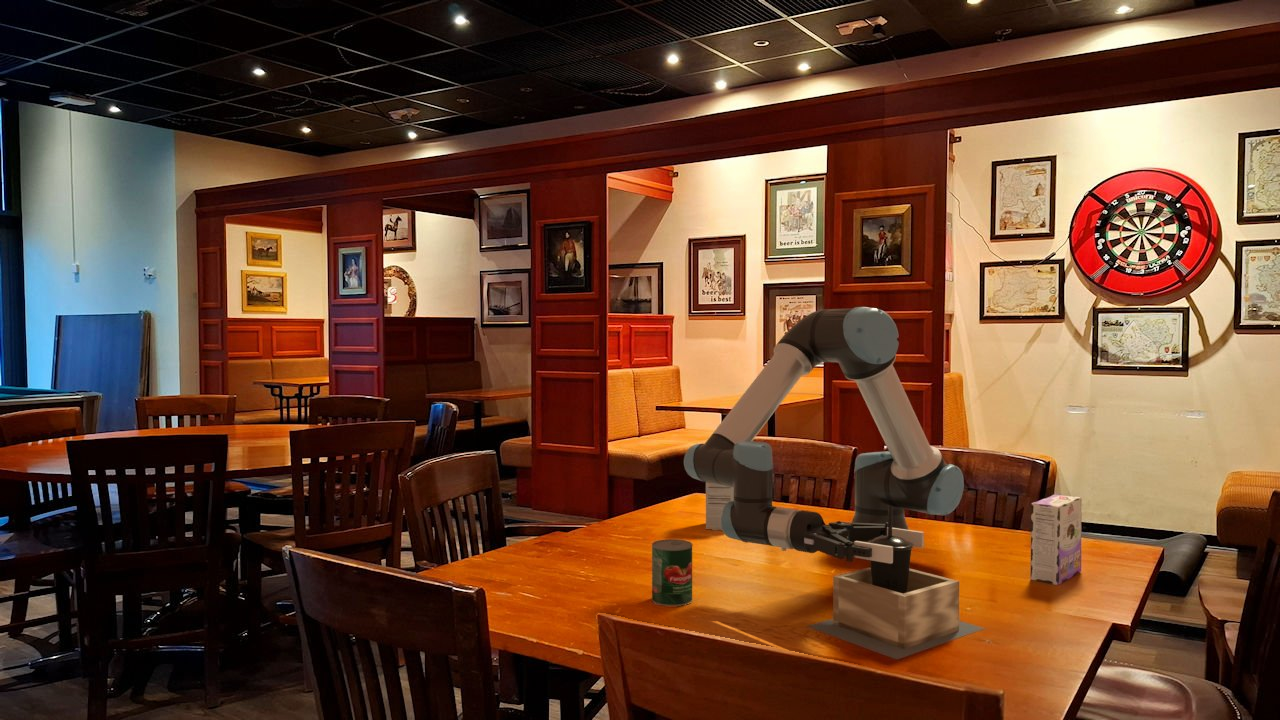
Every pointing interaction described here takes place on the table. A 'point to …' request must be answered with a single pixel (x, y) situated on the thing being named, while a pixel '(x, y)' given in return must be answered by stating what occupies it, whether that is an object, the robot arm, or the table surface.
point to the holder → (896, 607)
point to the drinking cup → (898, 571)
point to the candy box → (1055, 539)
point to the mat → (885, 647)
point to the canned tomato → (672, 572)
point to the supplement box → (716, 503)
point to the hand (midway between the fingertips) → (908, 547)
